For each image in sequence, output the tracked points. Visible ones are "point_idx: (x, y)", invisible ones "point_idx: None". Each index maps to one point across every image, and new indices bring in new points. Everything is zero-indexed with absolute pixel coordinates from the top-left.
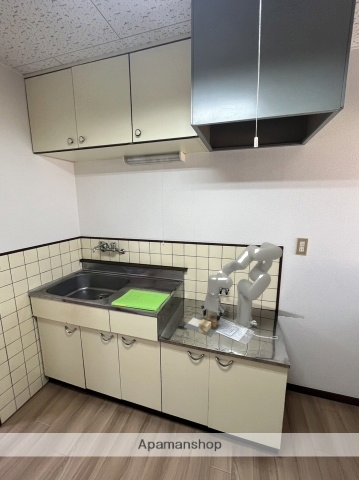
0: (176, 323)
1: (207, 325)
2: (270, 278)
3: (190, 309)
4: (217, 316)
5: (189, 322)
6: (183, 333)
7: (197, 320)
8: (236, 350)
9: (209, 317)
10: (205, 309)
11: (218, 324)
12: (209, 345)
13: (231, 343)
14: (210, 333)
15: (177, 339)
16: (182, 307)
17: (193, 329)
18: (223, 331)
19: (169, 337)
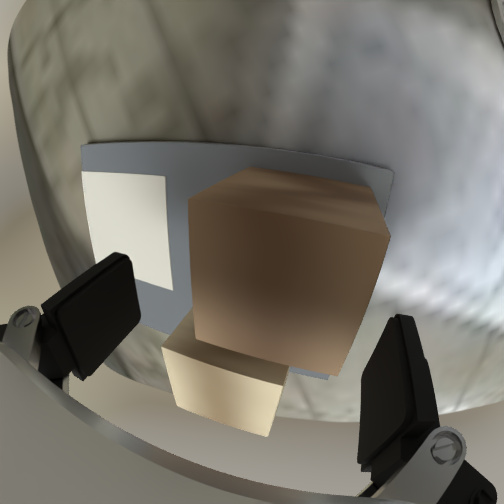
0: (68, 273)
1: (264, 427)
2: None
3: (41, 71)
4: (368, 461)
5: (99, 253)
6: (148, 351)
7: (121, 196)
8: (481, 399)
9: (210, 293)
10: (55, 359)
11: (372, 193)
12: (332, 414)
13: (473, 369)
14: None
15: (160, 388)
16: (15, 93)
17: (168, 325)
18: (435, 258)
19: (128, 376)
